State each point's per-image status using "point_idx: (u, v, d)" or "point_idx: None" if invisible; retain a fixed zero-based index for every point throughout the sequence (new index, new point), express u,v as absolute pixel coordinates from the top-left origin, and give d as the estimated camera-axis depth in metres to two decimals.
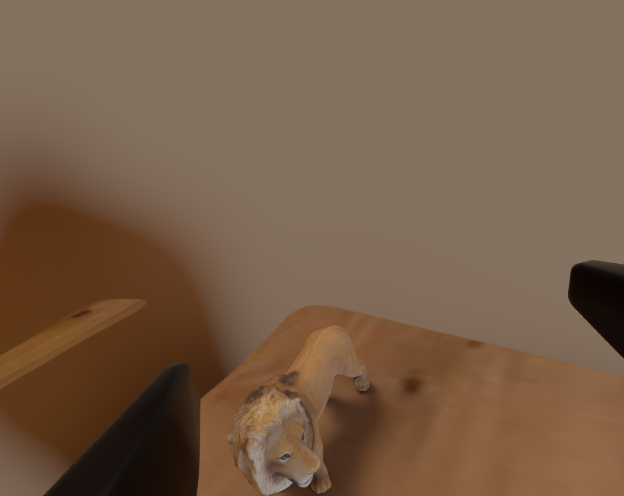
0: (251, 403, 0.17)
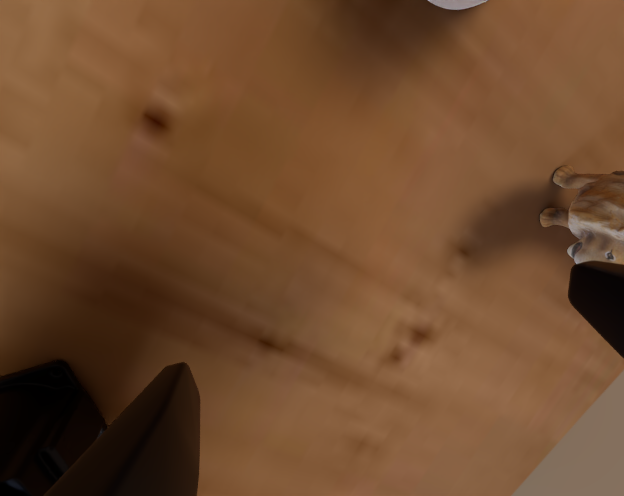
0: None
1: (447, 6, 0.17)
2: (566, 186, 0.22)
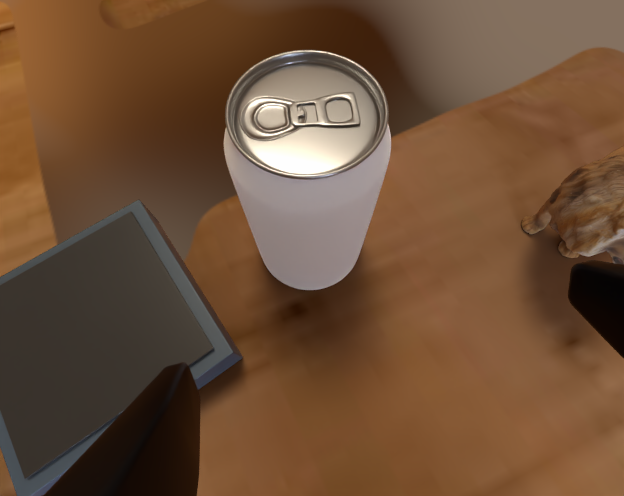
0: None
1: (349, 271, 0.22)
2: (543, 227, 0.23)
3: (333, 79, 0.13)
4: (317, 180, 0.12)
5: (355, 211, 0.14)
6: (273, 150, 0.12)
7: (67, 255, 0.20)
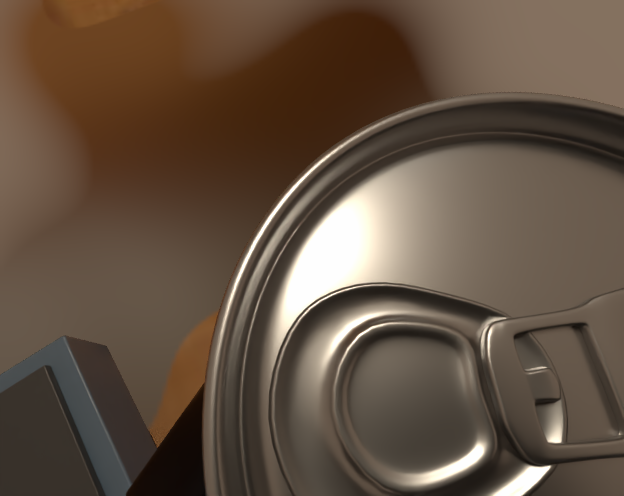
0: None
1: None
2: None
3: (617, 205, 0.04)
4: None
5: None
6: None
7: None
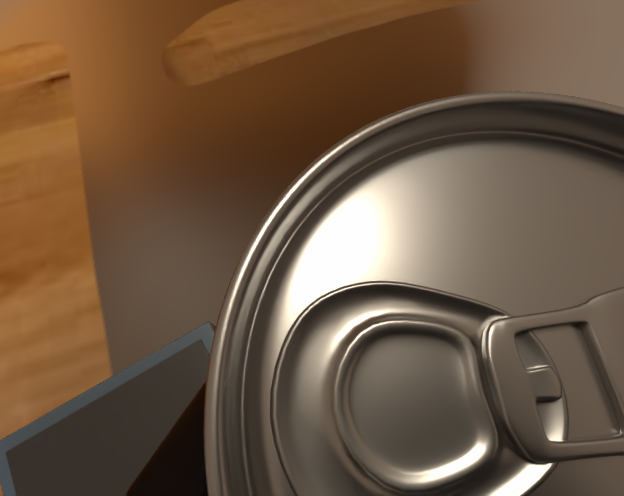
0: None
1: None
2: None
3: (617, 204, 0.04)
4: None
5: None
6: None
7: (126, 393, 0.17)
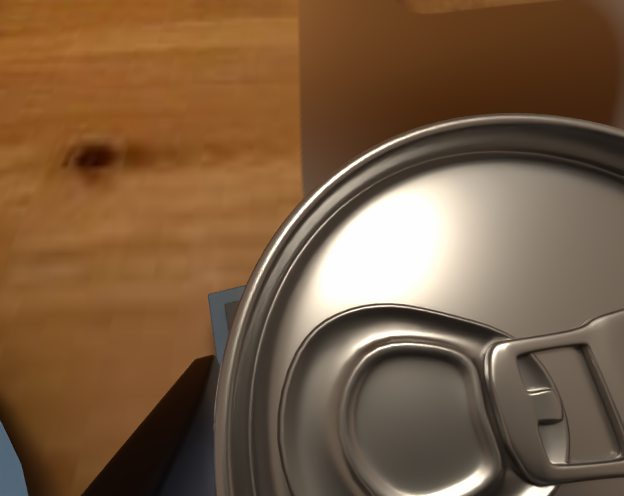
0: None
1: None
2: None
3: (617, 225, 0.04)
4: None
5: None
6: None
7: None
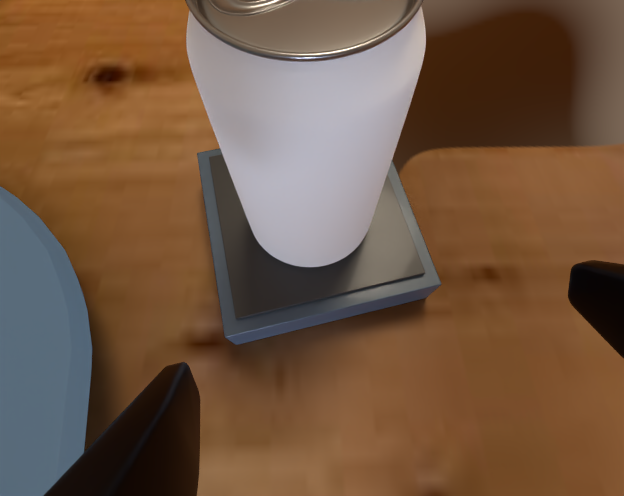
0: None
1: (358, 244, 0.18)
2: None
3: None
4: (321, 66, 0.08)
5: (375, 135, 0.10)
6: (254, 27, 0.08)
7: None
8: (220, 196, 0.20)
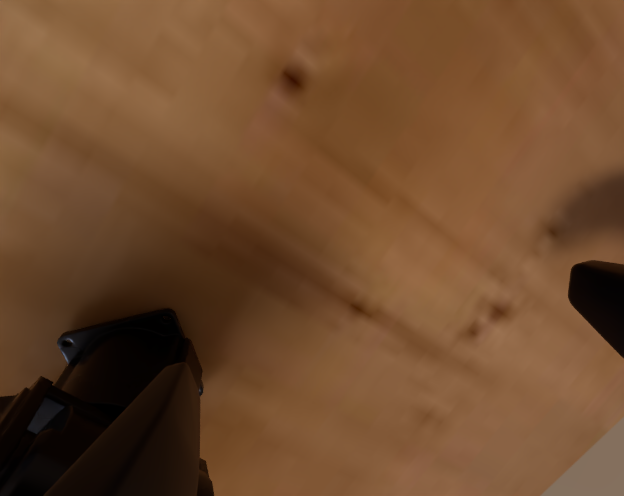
0: None
1: None
2: None
3: None
4: None
5: None
6: None
7: None
8: None
